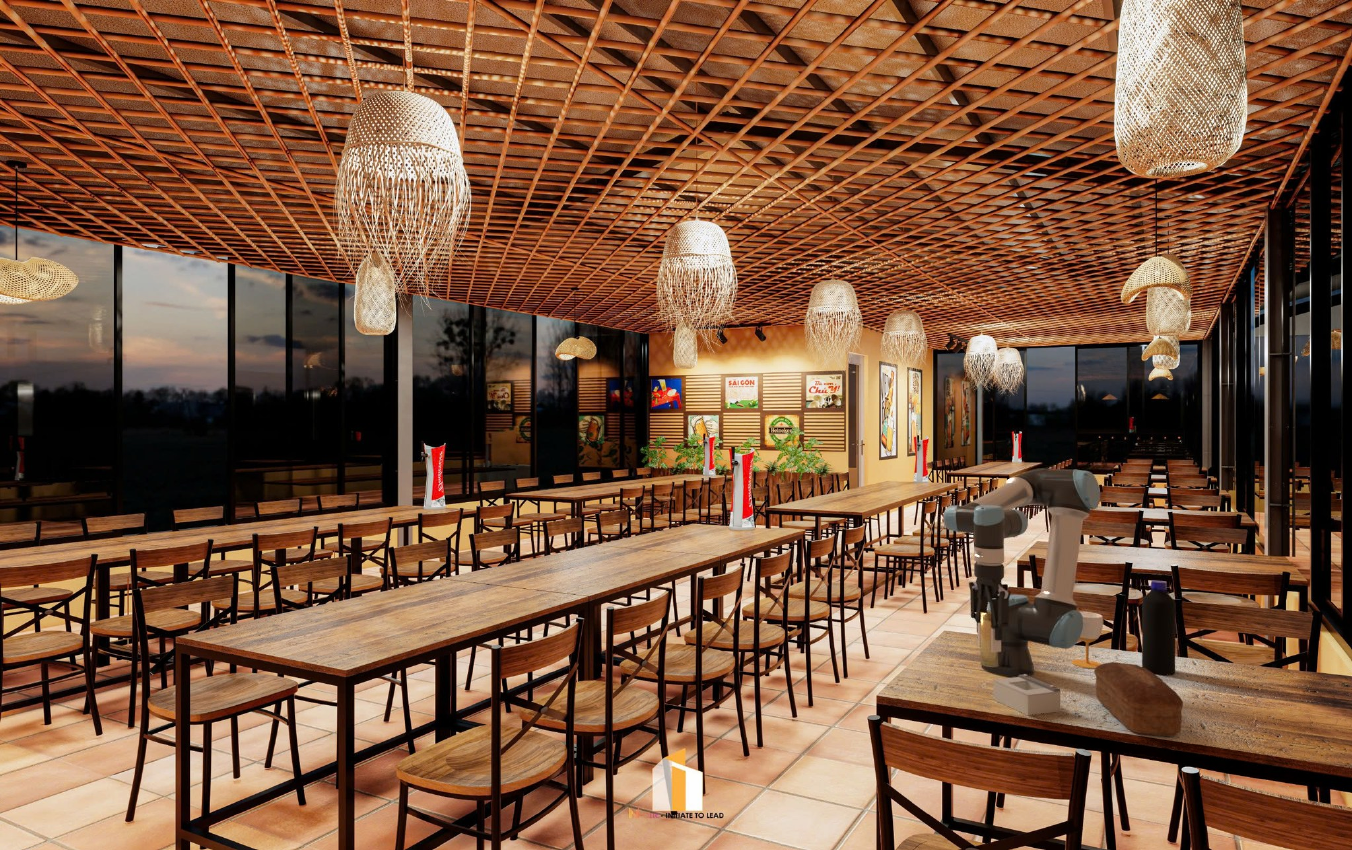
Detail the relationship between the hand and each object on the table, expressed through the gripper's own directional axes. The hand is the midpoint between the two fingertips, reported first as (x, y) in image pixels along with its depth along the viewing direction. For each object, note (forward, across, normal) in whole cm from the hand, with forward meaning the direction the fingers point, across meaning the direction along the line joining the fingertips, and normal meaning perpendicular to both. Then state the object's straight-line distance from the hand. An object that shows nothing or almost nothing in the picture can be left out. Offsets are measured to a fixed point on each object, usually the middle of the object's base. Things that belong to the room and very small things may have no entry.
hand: (989, 648), depth 209 cm
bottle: (+17, -10, +73) cm, 76 cm away
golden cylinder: (+4, 0, 0) cm, 4 cm away
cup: (+17, -22, +57) cm, 64 cm away
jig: (+16, +2, +10) cm, 19 cm away
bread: (+16, +18, +31) cm, 40 cm away
